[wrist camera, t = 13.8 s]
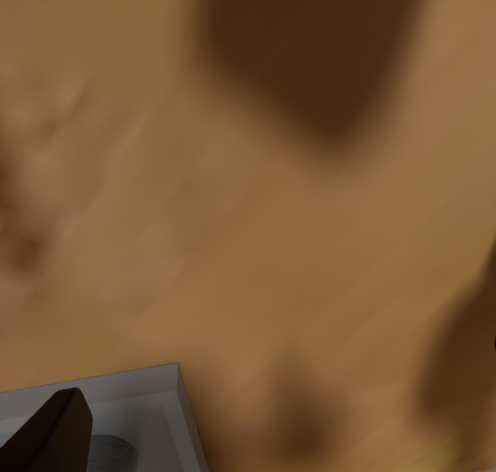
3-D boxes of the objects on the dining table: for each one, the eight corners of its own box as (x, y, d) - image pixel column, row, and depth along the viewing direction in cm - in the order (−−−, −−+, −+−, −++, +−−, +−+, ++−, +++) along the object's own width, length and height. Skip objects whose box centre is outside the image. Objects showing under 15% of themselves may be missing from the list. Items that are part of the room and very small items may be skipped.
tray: (178, 362, 23) (176, 390, 22) (214, 489, 29) (214, 520, 27) (-41, 399, 23) (-63, 431, 21) (39, 521, 29) (27, 554, 27)
